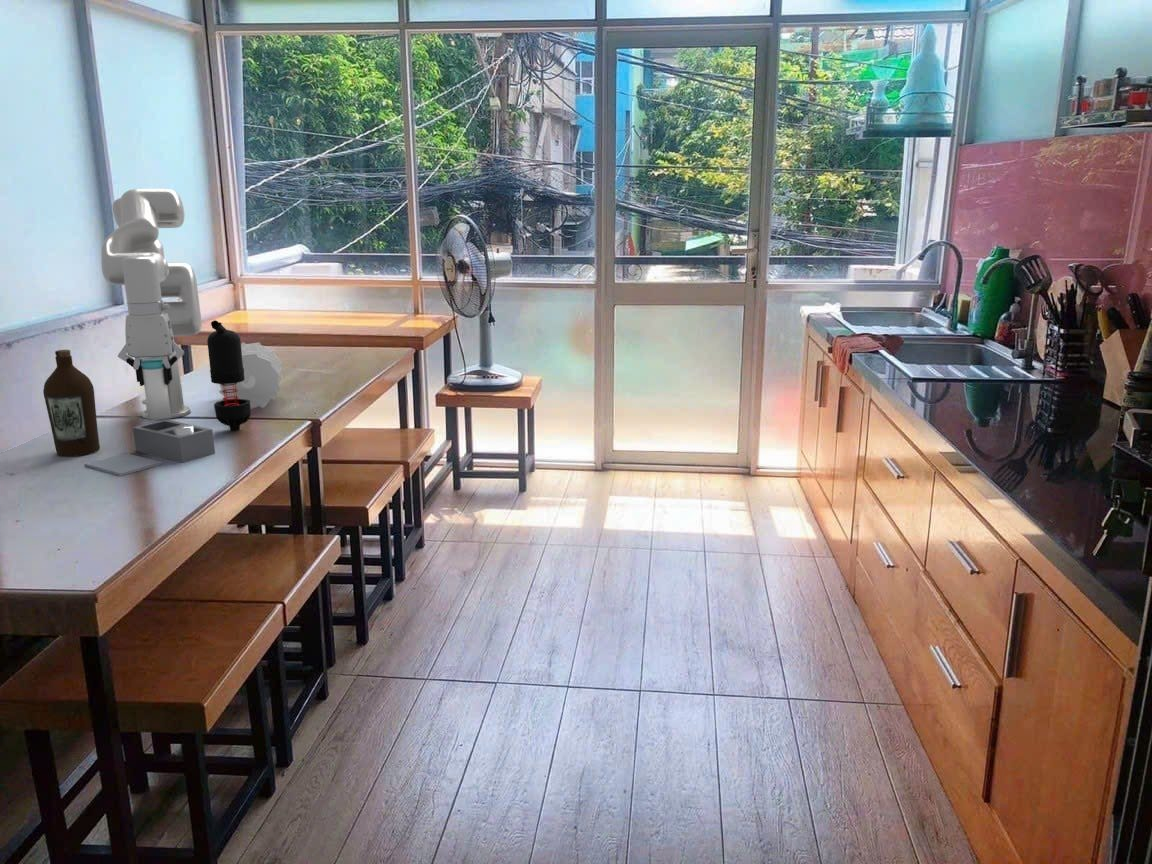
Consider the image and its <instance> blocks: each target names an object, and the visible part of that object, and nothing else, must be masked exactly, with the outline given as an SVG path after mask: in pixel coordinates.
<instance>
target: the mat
mask: <svg viewBox="0 0 1152 864" xmlns="http://www.w3.org/2000/svg"><path fill="white" fill-rule="evenodd" d="M161 464H162V462H161V461H160V460H159V461H158V460H155V459H150V458H147V457H143V456H139V455H134V454H129V453H127V452H124V453H120V454H115V455H113V456H109V457H105V458H101V459H97V460H94V461H89V462H87V463H86V462H85V463H84V467H87V468H91V469H93V468H94V470H98V471H101V472H106V473H109V474H112V473H113V475H116V476H119V475H120V477H122V475H123V476H126V475H130V474H133V473H136V471H137V472H139V471H142V470H143V469H144V470H146V468H147V469H150V468H153V467H157V466H161ZM149 467H150V468H149ZM129 473H130V474H129Z"/></svg>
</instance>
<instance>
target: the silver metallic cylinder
mask: <svg viewBox="0 0 1152 864" xmlns="http://www.w3.org/2000/svg"><path fill="white" fill-rule="evenodd" d="M193 425H194V424H190V425H179V426H175V427H174V434H175V435H178V436H183V435H187V434H191V433H194V426H195V425H194V426H193Z"/></svg>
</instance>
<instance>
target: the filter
mask: <svg viewBox="0 0 1152 864" xmlns="http://www.w3.org/2000/svg"><path fill="white" fill-rule="evenodd" d="M222 324H223V323H222V322H219V320H212V321H211V322H210V326H211V329H213V330H214V331H213V332H211V333H210V334H209V335H208V337H207V340H206V341H207V342H206V343H207V350H208V351H207V353H208V361H209V362H208V363H209V368H210V369H209V374H210V382H211V383H212V384H216V385H217V384H219V385H220V384H222V385H223V387H224V386H225V387H226V386H230V385H233V389H227V390H223V391H222V392H224V396H223V398H222V399H223V400H218V401H216V402H215V403H214V404H213V406H214V413H215V417H216V419H217V421H218V422H219V423H221V424H223V425H225V426H228V427H229V429H230V431H231V432H237V431H240V430H241V425H243V424H245V423H247V422H248V420H249V419H250V417H251V412H252V409H251V407H250V401H249V400H247V399H238V397H237V393H236V396H235V394H234V396H230V397H227V393H233V392H237V391H238V390H237V389H236V385H235V384H237V383H238V382H242V381H244V379H245V378H244V377H245V376H244V368H243V361H242V351H241V343H242V342H241V337H240V336H239V334H238V333H237V332H235V331H233V330H229V329H226V327H225V326H224V325H222ZM232 383H234V384H232ZM234 385H235V389H234ZM228 390H235V391H232V392H225V391H228ZM225 393H226V397H225ZM231 397H234V399H227V398H231Z"/></svg>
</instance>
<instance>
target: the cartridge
mask: <svg viewBox="0 0 1152 864" xmlns="http://www.w3.org/2000/svg"><path fill="white" fill-rule="evenodd" d="M141 366H142V373H143V380H144V385H143V387H144V393H145V398H146V402H147V409H146V410H148V417H149V419H148V420H152V421H162V420H167V419H166V418H169V417H171V412H170V405H169V397H168V389H167V385H166V384H165V380H164V372H163V369H164V363H163V361H162V359H148V360H143V361H141Z"/></svg>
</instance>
